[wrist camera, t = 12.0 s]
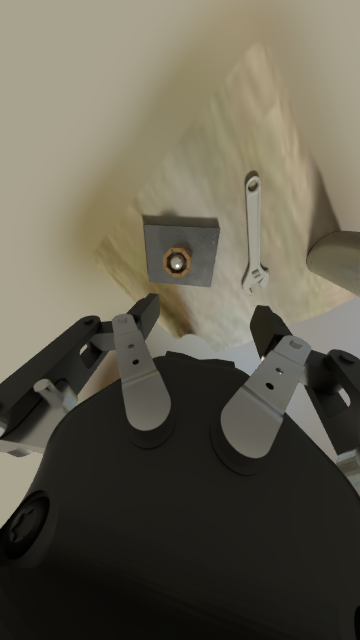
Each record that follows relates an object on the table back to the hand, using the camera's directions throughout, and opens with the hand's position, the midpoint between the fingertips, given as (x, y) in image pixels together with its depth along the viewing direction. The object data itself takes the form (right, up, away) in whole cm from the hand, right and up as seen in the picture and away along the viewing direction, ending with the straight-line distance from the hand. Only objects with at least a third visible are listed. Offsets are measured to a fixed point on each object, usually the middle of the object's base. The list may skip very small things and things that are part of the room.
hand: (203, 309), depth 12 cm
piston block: (-2, +16, +27) cm, 32 cm away
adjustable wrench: (+17, +17, +23) cm, 33 cm away
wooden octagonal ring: (-2, +15, +25) cm, 30 cm away
